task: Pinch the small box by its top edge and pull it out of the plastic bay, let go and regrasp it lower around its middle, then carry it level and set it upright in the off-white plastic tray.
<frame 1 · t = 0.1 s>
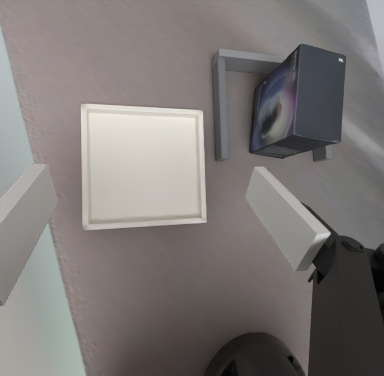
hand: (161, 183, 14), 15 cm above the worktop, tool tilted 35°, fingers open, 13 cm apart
bay: (268, 123, 33), on the worktop
tray: (146, 168, 29), on the worktop
small box: (267, 124, 34), on the worktop
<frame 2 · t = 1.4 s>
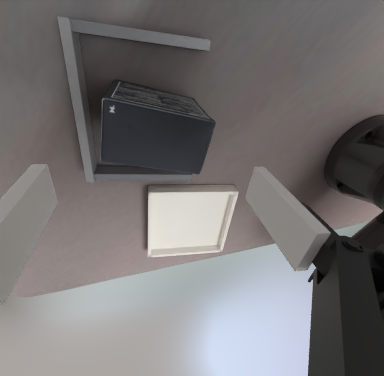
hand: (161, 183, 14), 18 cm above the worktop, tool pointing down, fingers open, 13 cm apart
bay: (153, 114, 29), on the worktop
tray: (188, 218, 40), on the worktop
small box: (152, 113, 29), on the worktop
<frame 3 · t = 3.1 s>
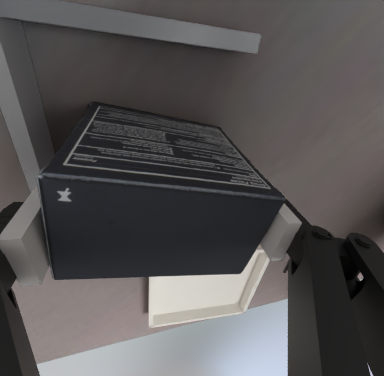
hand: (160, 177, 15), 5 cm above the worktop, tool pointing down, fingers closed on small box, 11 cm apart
bay: (156, 151, 18), on the worktop
tray: (202, 277, 30), on the worktop
small box: (155, 150, 19), on the worktop, touching gripper
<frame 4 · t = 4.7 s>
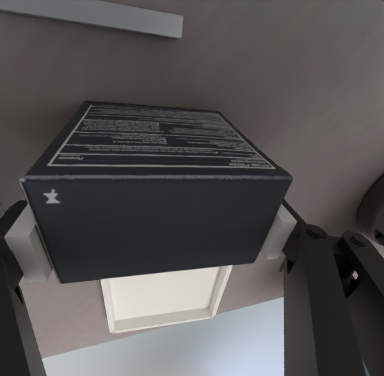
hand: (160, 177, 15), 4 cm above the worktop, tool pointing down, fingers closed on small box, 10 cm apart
bay: (93, 148, 17), on the worktop
tray: (166, 280, 29), on the worktop
small box: (155, 144, 18), on the worktop, touching gripper
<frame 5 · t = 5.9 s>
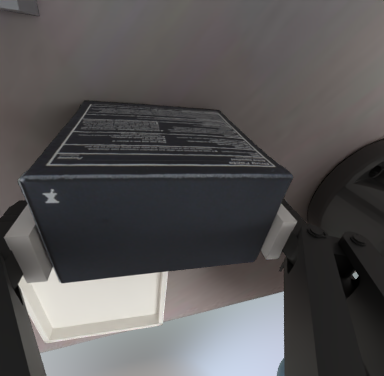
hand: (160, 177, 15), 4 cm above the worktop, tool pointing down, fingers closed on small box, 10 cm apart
tray: (104, 286, 27), on the worktop
small box: (155, 143, 18), on the worktop, touching gripper
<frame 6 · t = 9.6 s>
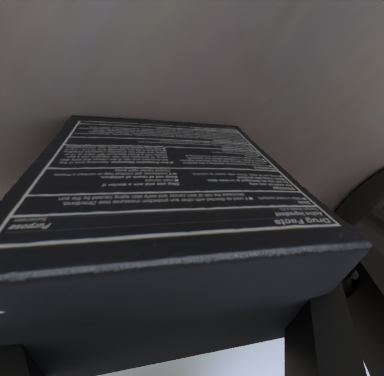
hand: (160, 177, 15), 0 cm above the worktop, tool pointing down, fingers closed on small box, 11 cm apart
small box: (159, 164, 15), on the worktop, touching gripper
when the fingers open (4 cm above the worktop, at t = 16.6 s): small box drops 2 cm, point 1 cm above the worktop.
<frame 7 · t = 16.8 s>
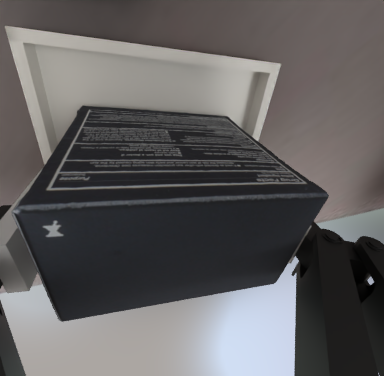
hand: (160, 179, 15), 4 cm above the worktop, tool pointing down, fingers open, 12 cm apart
tray: (156, 155, 18), on the worktop
small box: (158, 151, 17), point 1 cm above the worktop, touching gripper
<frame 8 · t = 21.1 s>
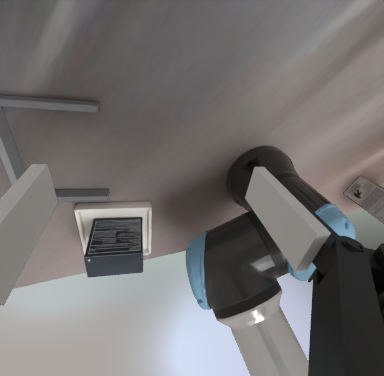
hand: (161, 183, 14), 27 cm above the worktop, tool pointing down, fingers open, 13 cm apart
bay: (69, 152, 38), on the worktop
tray: (117, 228, 50), on the worktop
coffee box: (359, 188, 59), on the worktop
small box: (119, 227, 49), point 1 cm above the worktop, touching tray
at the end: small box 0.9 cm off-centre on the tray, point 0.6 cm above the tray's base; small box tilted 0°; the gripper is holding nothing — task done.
